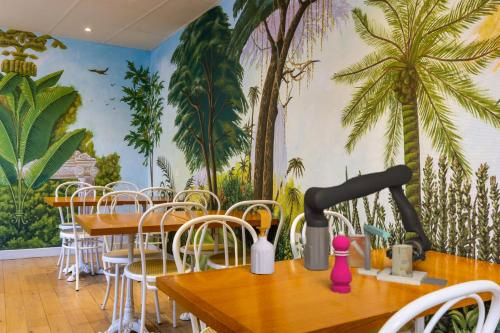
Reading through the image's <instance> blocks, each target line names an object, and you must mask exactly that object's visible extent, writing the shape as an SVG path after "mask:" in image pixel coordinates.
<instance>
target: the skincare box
mask: <svg viewBox="0 0 500 333" xmlns="http://www.w3.org/2000/svg"><path fill="white" fill-rule="evenodd" d="M392 249H393V252H392V259H391V264H392V265H391V266H392V267H391V268H392V275H393V276H401V277H409V278H412V277H413V276H412V271H413V262H412V246H410V245H405V244H404V243H402V244H393V245H392Z"/></svg>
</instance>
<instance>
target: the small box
mask: <svg viewBox="0 0 500 333" xmlns="http://www.w3.org/2000/svg"><path fill="white" fill-rule="evenodd" d="M347 238H348V239H349V241H350V247H349V248H348V251H349V252H348V254H349V255H347V263H348V267H349V268H361V267H362V268H365V233H362V234H361V233H360V234H359V233H347Z"/></svg>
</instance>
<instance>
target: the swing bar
mask: <svg viewBox="0 0 500 333" xmlns="http://www.w3.org/2000/svg"><path fill="white" fill-rule="evenodd" d="M362 229H363V231H365V230H367V231H369V232H371V233H372V234H374V235H376V236H379V237H381V238H383V239H384V238H387V239H388V238H390V232H389V231H387V230H384V229H382V228H380V227H376V226H374V225H372V224H366V223H365V224H363V228H362Z"/></svg>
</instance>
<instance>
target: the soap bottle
mask: <svg viewBox="0 0 500 333" xmlns="http://www.w3.org/2000/svg"><path fill="white" fill-rule="evenodd" d="M256 213H258V214H259V216H260V226H255V228H256V229H258V231H260V233H258V235H257V237H258V239H257V241H255V242H254V243H253V244H251V246H250V273H251V274H253V273H255V274H254V275H257V274H269V275H272V274H274V272H275V247H274V244H272V243H271V242H270V241H268V239H267V238H268V235H267V234H265V232H266V231H267V230H268V229H271V213H270V212H269V211H268V210H266V209H257V210H256Z"/></svg>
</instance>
